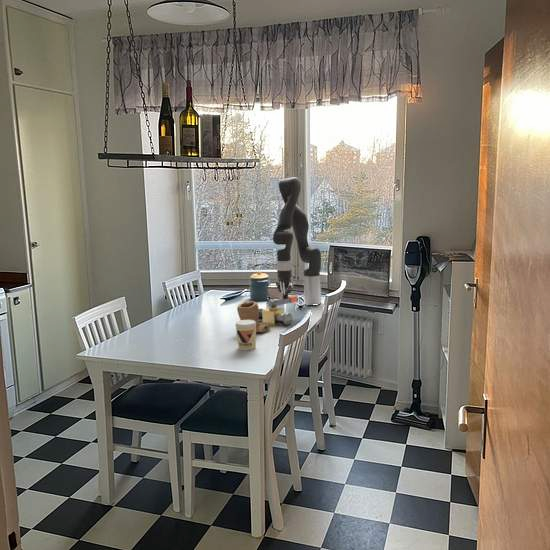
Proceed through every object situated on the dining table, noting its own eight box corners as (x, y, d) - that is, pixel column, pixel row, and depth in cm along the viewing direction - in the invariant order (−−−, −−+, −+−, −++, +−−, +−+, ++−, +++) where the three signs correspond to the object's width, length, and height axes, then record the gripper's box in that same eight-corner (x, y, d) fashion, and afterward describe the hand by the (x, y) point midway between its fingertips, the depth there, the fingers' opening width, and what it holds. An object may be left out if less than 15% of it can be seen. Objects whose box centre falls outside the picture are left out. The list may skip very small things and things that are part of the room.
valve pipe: (254, 321, 303) (253, 305, 301) (264, 318, 309) (263, 302, 307) (283, 327, 290) (283, 310, 288) (293, 323, 296) (293, 307, 294)
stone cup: (234, 334, 282) (232, 304, 279) (244, 327, 293) (242, 298, 290) (262, 336, 277) (261, 306, 274) (271, 329, 288) (270, 300, 285)
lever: (272, 307, 295) (271, 302, 295) (267, 306, 298) (267, 300, 298) (298, 301, 305) (297, 296, 305) (293, 300, 308) (293, 295, 308)
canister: (260, 302, 345) (259, 273, 342) (245, 299, 354) (244, 271, 350) (275, 298, 354) (274, 270, 351) (260, 295, 363) (259, 268, 360)
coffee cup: (234, 351, 256) (233, 325, 254) (239, 344, 265) (237, 319, 263) (255, 351, 255) (254, 324, 253) (259, 344, 264) (257, 319, 262)
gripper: (270, 268, 307) (272, 300, 310) (286, 271, 296) (288, 304, 300) (281, 266, 311) (282, 297, 314) (297, 269, 301) (298, 301, 304)
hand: (285, 300), depth 307 cm, fingers closed
